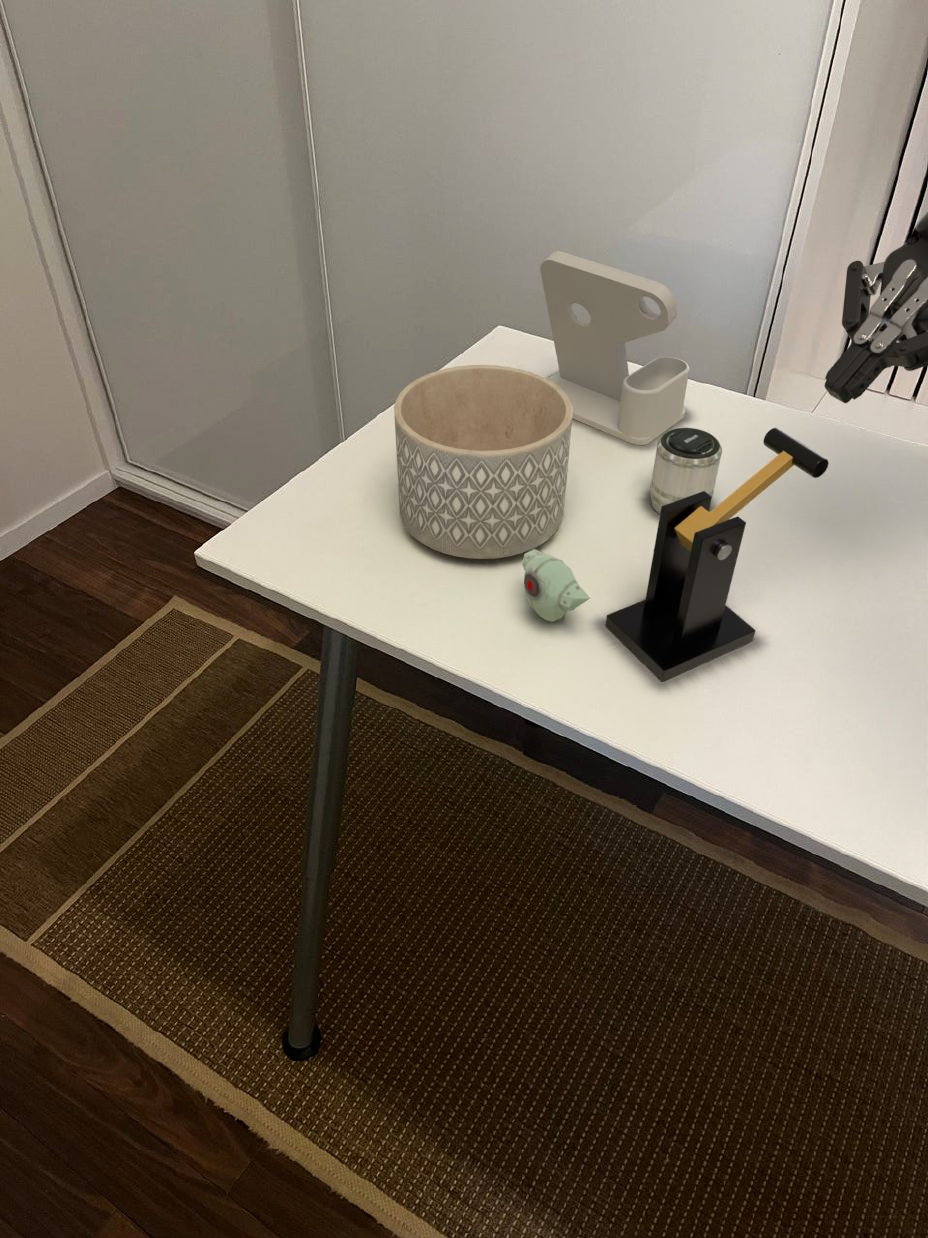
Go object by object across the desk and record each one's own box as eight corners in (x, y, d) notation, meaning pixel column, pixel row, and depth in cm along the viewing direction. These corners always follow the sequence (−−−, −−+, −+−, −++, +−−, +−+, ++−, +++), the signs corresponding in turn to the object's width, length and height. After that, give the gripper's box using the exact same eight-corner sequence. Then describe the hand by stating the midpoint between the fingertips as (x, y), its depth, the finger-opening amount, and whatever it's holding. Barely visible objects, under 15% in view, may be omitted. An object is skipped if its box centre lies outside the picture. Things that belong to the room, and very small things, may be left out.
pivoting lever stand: (692, 589, 87) (718, 472, 78) (753, 641, 82) (787, 521, 73) (604, 625, 83) (621, 506, 74) (662, 682, 78) (686, 561, 69)
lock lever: (780, 439, 78) (776, 420, 76) (830, 471, 74) (827, 452, 72) (667, 534, 78) (660, 517, 76) (712, 570, 74) (706, 553, 72)
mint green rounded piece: (591, 636, 82) (599, 576, 77) (553, 654, 80) (559, 593, 76) (537, 586, 87) (542, 527, 82) (501, 602, 85) (503, 542, 81)
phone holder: (691, 414, 110) (720, 262, 98) (644, 449, 105) (667, 291, 92) (572, 368, 119) (584, 222, 107) (522, 398, 113) (529, 247, 101)
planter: (496, 457, 103) (500, 349, 95) (596, 529, 94) (610, 416, 85) (369, 507, 96) (360, 395, 88) (462, 592, 86) (463, 475, 78)
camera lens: (721, 505, 97) (736, 438, 91) (686, 530, 93) (699, 463, 88) (671, 480, 100) (683, 415, 95) (635, 504, 97) (645, 438, 91)
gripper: (913, 148, 71) (756, 337, 75) (1073, 199, 62) (887, 410, 66) (937, 209, 76) (790, 382, 80) (1087, 264, 68) (915, 455, 71)
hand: (834, 394), depth 73 cm, fingers closed
